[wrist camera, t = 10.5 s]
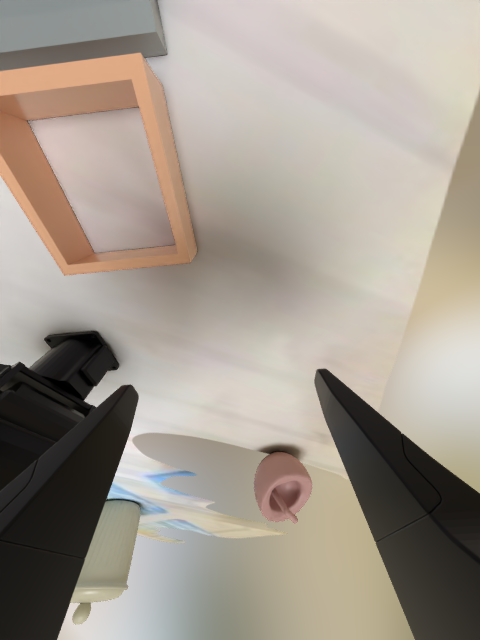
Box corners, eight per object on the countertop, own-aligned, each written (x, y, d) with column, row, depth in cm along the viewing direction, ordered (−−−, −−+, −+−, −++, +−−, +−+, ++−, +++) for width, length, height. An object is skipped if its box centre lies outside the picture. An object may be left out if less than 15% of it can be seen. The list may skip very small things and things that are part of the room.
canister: (80, 496, 58) (13, 629, 40) (139, 493, 58) (98, 625, 40) (105, 512, 68) (61, 623, 50) (156, 509, 68) (129, 620, 50)
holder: (90, 262, 19) (64, 275, 16) (6, 105, 13) (-61, 79, 10) (197, 251, 18) (190, 262, 15) (162, 85, 12) (140, 52, 9)
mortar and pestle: (314, 450, 44) (336, 521, 34) (278, 467, 49) (289, 533, 40) (275, 437, 40) (288, 513, 30) (241, 457, 45) (243, 528, 35)
